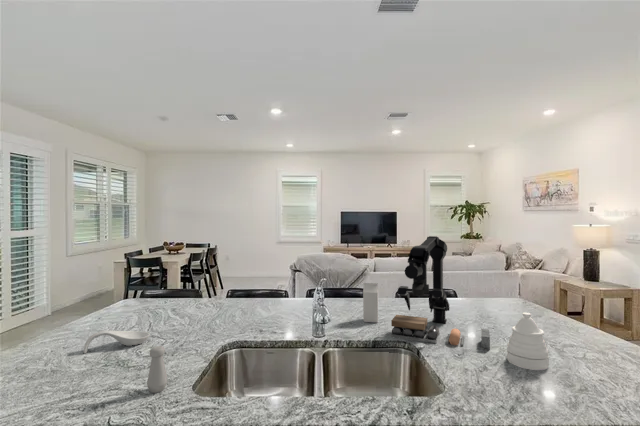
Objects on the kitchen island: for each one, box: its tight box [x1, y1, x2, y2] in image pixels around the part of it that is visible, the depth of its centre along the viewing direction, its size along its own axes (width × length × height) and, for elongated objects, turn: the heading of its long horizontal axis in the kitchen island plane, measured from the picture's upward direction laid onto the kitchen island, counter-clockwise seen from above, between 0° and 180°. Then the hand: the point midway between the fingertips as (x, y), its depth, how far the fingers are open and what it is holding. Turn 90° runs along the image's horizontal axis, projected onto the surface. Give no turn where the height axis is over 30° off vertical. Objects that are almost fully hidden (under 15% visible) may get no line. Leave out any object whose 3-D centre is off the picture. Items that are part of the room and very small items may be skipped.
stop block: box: [480, 328, 491, 351], centre depth 141 cm, size 10×3×5 cm, turn 155°
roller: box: [449, 328, 462, 346], centre depth 146 cm, size 10×4×4 cm, turn 155°
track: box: [390, 325, 465, 347], centre depth 151 cm, size 12×29×4 cm, turn 65°
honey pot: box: [506, 312, 550, 371], centre depth 125 cm, size 13×13×18 cm
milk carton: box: [362, 282, 379, 324], centre depth 176 cm, size 7×7×19 cm
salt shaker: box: [146, 345, 168, 394], centre depth 106 cm, size 6×6×13 cm
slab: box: [390, 314, 428, 330], centre depth 154 cm, size 10×14×2 cm
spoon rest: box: [83, 330, 151, 354], centre depth 143 cm, size 24×12×7 cm, turn 123°
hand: (420, 311), depth 152 cm, fingers open, 9 cm apart
